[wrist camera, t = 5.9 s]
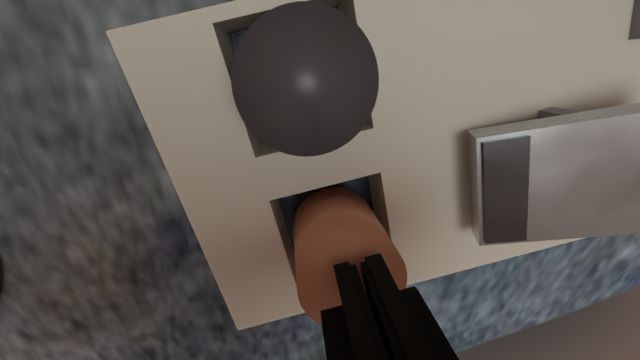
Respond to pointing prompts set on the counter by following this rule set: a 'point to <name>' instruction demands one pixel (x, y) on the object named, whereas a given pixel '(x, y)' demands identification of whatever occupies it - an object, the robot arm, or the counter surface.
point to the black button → (304, 78)
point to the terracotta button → (337, 245)
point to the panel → (370, 124)
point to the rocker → (556, 177)
